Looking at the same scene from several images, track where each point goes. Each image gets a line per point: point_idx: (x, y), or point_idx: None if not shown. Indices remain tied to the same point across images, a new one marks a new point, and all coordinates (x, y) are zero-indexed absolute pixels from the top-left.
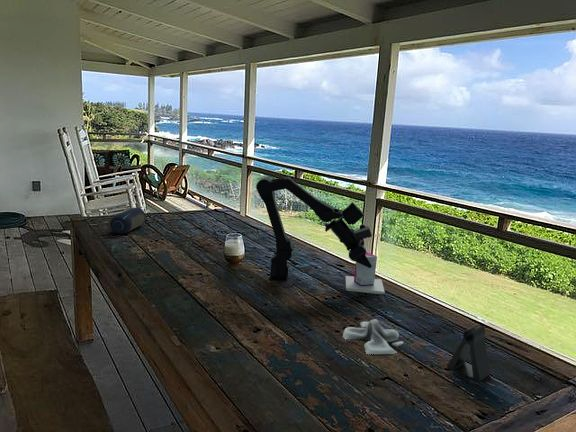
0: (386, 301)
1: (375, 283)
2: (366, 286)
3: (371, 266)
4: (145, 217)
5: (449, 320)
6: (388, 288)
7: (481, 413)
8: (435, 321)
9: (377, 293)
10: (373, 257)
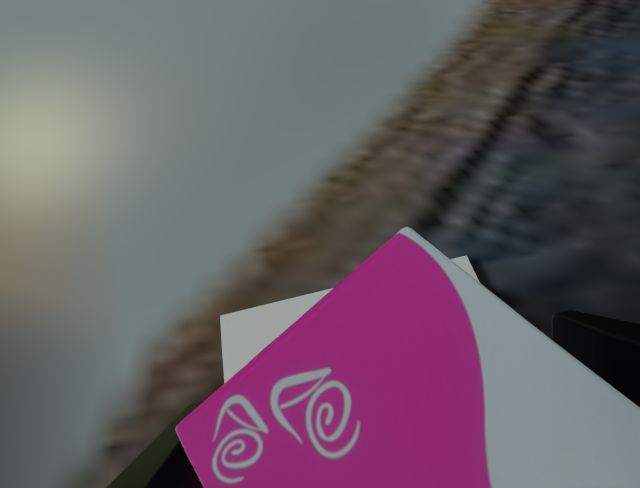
0: (571, 234)
1: None
2: None
3: (573, 316)
4: None
5: (566, 20)
6: (334, 259)
7: None
8: (626, 45)
9: None
10: (472, 282)
